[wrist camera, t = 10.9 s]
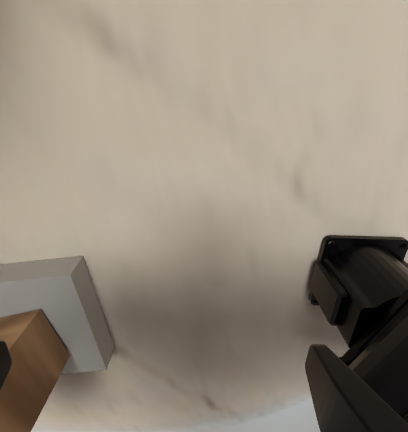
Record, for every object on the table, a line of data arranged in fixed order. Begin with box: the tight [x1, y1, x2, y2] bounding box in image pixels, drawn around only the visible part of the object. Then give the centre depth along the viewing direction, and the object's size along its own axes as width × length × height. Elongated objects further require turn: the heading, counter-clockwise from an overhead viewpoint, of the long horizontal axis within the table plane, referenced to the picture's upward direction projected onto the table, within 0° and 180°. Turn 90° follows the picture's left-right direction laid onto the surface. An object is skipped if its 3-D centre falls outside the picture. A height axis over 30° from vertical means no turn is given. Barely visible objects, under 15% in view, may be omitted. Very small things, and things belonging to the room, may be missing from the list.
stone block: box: [0, 256, 114, 374], centre depth 24 cm, size 10×10×3 cm
